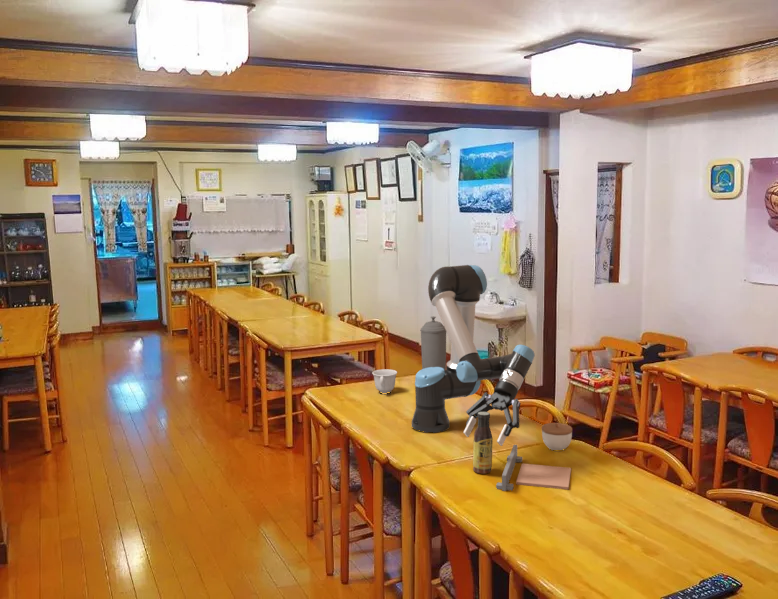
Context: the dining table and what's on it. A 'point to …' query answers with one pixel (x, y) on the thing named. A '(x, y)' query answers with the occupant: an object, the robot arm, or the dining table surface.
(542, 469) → the terracotta tile
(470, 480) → the dining table surface
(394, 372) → the teacup
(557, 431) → the lidded jar
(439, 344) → the canister
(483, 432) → the sauce bottle
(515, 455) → the grey wall
